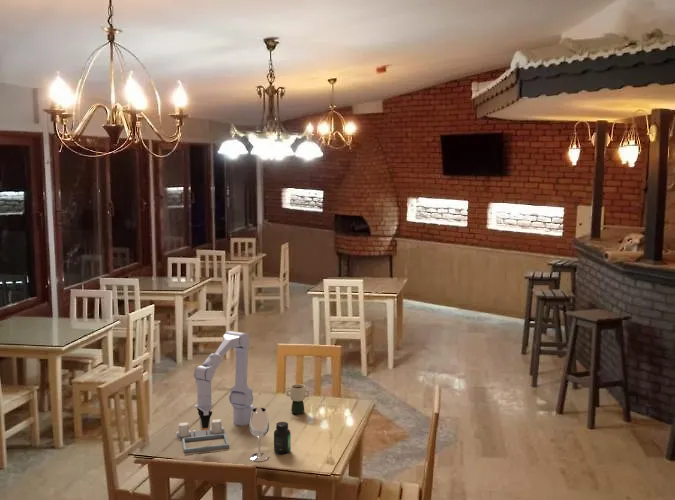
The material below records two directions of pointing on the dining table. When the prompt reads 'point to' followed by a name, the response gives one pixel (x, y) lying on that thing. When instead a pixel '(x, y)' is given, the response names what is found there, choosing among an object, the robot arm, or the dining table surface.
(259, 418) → the wineglass
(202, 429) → the fuse marked
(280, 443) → the supplement bottle
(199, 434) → the block
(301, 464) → the dining table surface
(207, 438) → the tray
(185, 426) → the block
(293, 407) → the character mug
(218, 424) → the fuse
